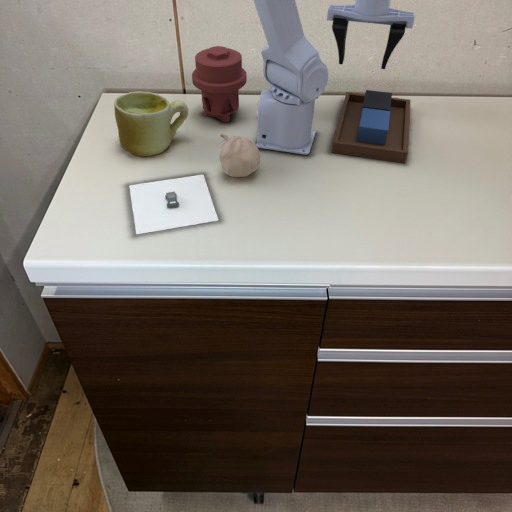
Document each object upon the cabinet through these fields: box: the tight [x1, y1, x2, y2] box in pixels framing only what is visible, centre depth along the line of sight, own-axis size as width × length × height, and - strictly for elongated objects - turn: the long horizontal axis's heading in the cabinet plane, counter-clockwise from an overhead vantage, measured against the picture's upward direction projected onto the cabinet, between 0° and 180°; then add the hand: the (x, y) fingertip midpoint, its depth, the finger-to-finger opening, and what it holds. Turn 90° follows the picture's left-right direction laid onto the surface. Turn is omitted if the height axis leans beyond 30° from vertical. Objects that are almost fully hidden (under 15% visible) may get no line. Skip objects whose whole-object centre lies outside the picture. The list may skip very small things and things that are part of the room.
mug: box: [113, 90, 190, 158], centre depth 81 cm, size 12×10×10 cm
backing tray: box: [331, 91, 411, 164], centre depth 88 cm, size 13×20×2 cm, turn 166°
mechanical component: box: [191, 45, 248, 123], centre depth 88 cm, size 12×10×10 cm
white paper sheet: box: [129, 174, 219, 235], centre depth 72 cm, size 12×12×2 cm
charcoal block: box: [360, 89, 393, 120], centre depth 90 cm, size 5×7×3 cm
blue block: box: [357, 108, 390, 145], centre depth 85 cm, size 5×7×3 cm
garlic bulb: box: [219, 133, 261, 178], centre depth 75 cm, size 7×6×8 cm
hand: (362, 64), depth 87 cm, fingers open, 7 cm apart
